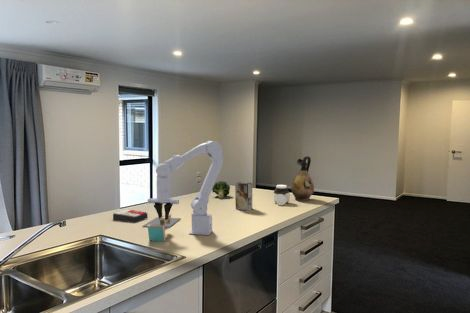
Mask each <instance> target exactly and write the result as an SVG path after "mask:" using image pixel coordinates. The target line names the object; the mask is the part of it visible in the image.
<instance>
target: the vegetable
mask: <svg viewBox="0 0 470 313" xmlns="http://www.w3.org/2000/svg"><path fill="white" fill-rule="evenodd" d="M230 190H231V186H230V184H228V183H227V182H226V181H222V180H219V181H217V182H215V183H214V186H213V188H212V190H211V193H215V194H216V195H218V196H217V197H218V198H219V199H223V198H224V197H227V196H229V194H230Z"/></svg>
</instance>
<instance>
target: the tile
mask: <svg viewBox="0 0 470 313" xmlns="http://www.w3.org/2000/svg"><path fill="white" fill-rule="evenodd" d="M147 233H148V240H152V241H151V242H163V241H164V242H165V241H166V240H167V239H166V230H165V227H164V225H151V224H149V225H148V227H147Z"/></svg>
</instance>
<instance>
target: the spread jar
mask: <svg viewBox="0 0 470 313" xmlns="http://www.w3.org/2000/svg"><path fill="white" fill-rule="evenodd" d="M275 186H276V188H275V189H274V190H273V201H274V203H276V204H278V206H283V205H286V204H288V203H289V202H290V196H291V195H290V190H289V189H288V187H287V186H288V185H286V184H277V185H275Z"/></svg>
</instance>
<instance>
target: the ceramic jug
mask: <svg viewBox="0 0 470 313" xmlns="http://www.w3.org/2000/svg"><path fill="white" fill-rule="evenodd" d="M311 158H312V157H310V156H308V155H307V156H304V157H303V158H302V159H301V158H298V159H297V160H296V164H297V165H299V166H301V167H300V170H299V171H298V173H297V174H296V175H295V177H294V178H293V180H292V183H291V187H290V188H291V193H292V195H293V197H294V198H295V201H301V202H307V201H309V200H310V198H311V197H312V195H313V194H314V193H315V184H314V181H313V179H312V177H311V175H310V173H309V169H310V167H311V166H310V165H311V162H312V161H311Z"/></svg>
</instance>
